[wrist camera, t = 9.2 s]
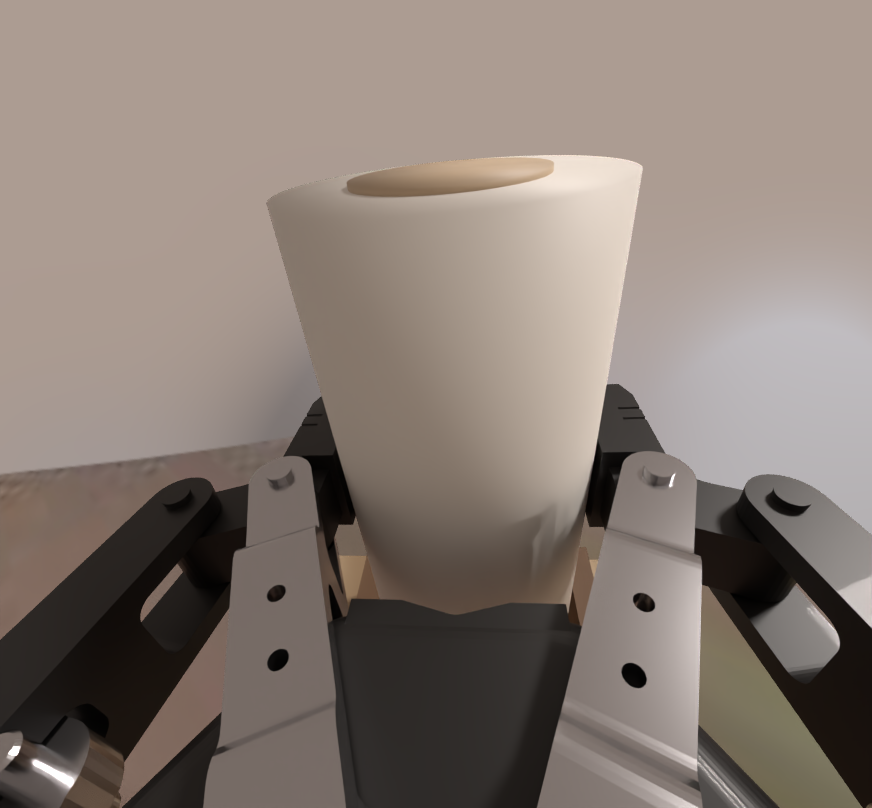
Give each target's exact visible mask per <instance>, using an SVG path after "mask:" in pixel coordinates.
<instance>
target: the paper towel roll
mask: <svg viewBox="0 0 872 808" xmlns="http://www.w3.org/2000/svg"><path fill="white" fill-rule="evenodd" d="M642 170H643V167H642V166H641V165H640V164H638V163H636V162H633V161H629V160H625V159H619V158H610V157H600V156H578V155H541V156H513V157H496V158H480V159H467V160H455V161H445V162H435V163H427V164H418V165H410V166H402V167H395V168H387V169H381V170H374V171H368V172H362V173H356V174H351V175H345V176H340V177H335V178H330V179H325V180H322V181H317V182H313V183H309V184H305V185H301V186H298V187H295V188H291V189H288V190H286V191H283V192H281V193H278V194H277V195H275V196H273V197H271V198H270V199H269V200H268V202H267V206H268V210H269V214H270V217H271V221H272V224H273V228H274V231H275V235H276V238H277V241H278V245H279V248H280V252H281V255H282V259H283V262H284V266H285V269H286V273H287V276H288V280H289V283H290V287H291V290H292V294H293V297H294V301H295V304H296V308H297V311H298V315H299V318H300V322H301V325H302V329H303V332H304V335H305V339H306V343H307V346H308V350H309V353H310V357H311V360H312V364H313V367H314V371H315V374H316V378H317V381H318V385H319V388H320V392H321V395H322V399H323V402H324V406H325V409H326V413H327V416H328V420H329V423H330V427H331V430H332V434H333V437H334V441H335V444H336V448H337V451H338V455H339V458H340V462H341V465H342V469H343V472H344V476H345V479H346V483H347V486H348V490H349V493H350V497H351V500H352V503H353V507H354V510H355V514H356V517H357V521H358V524H359V528H360V531H361V535H362V538H363V542H364V545H365V549H366V552H367V556H368V559H369V563H370V566H371V570H372V573H373V577H374V580H375V584H376V587H377V591H378V594H379V598H380V599H389V600H404V601H407V602H411V603H414V604H418V605H421V606H424V607H428V608H431V609H435V610H438V611H441V612H445V613H448V614H453V615H458V614H464V613H468V612H472V611H477V610H481V609H485V608H490V607H494V606H498V605H503V604H507V603H546V604H566V607H567V612H569V606H570V600H571V594H572V588H573V582H574V576H575V570H576V564H577V558H578V552H579V546H580V540H581V534H582V528H583V522H584V516H585V510H586V504H587V498H588V492H589V486H590V480H591V474H592V468H593V462H594V456H595V450H596V444H597V439H598V433H599V427H600V421H601V415H602V409H603V403H604V397H605V391H606V385H607V379H608V373H609V366H610V360H611V354H612V349H613V343H614V337H615V331H616V324H617V319H618V313H619V307H620V301H621V294H622V289H623V283H624V277H625V270H626V265H627V259H628V253H629V247H630V241H631V235H632V229H633V223H634V217H635V211H636V205H637V199H638V193H639V187H640V181H641V175H642Z"/></svg>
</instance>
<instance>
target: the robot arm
mask: <svg viewBox="0 0 872 808" xmlns="http://www.w3.org/2000/svg"><path fill="white" fill-rule="evenodd" d="M585 512H586V516H587V520H588V523H589V527H604V529H605V535H604V539H603V543H602V547H601V551H600V555H599V560H598V564H597V568H596V572H595V576H594V580H593V584H592V588H591V592H590V596H589V600H588V604H587V608H586V613H585V617H584V621H583V625H582V626H580V625H578V624H575V623H571V622H569V618H568V612H567V607H566V604H546V603H507V604H503V605H498V606H494V607H490V608H485V609H481V610H477V611H472V612H468V613H464V614H458V615H453V614H448V613H445V612H441V611H438V610H435V609H431V608H428V607H424V606H421V605H418V604H414V603H411V602H407V601H404V600H389V599H351V602H350V605H349V608H348V603H347V598H346V592H345V586H344V581H343V575H342V569H341V564H340V558H339V552H338V547H337V542H336V539H335V534H336V531H337V528H338V525H353V523H354V520H355V516H356V514H355V510H354V507H353V503H352V500H351V497H350V493H349V490H348V486H347V483H346V479H345V476H344V472H343V469H342V465H341V462H340V458H339V455H338V451H337V448H336V444H335V441H334V437H333V434H332V430H331V427H330V423H329V420H328V416H327V413H326V409H325V406H324V402H323V399H322V396H321V397H320V398H319V399H318V400H317V401H315V402H314V403H313V404H312V406H311V408H310V410H309V412H308V413H307V417H305V419H304V421H303V422H302V426H301V427H300V428H299V430H298V432H297V433H296V435H295V437H294V438H293V440H292V442H291V444H290V446H289V447H288V449H287V451H286V453H285V455H284V456H283V457H281V458H277V459H274V460H272V461H270V462H268V463H266V464H264V465H263V466H261V467H260V468H259V469H258V470H257V471H256V472H255V473H254V474H253V475H252V477H251V479H250V481H249V484H247V485H244V486H239V487H235V488H231V489H227V490H223V491H219V492H215V490H214V488H213V486H212V484H211V483H210V482H209V481H208V480H206V479H203V478H188V479H184V480H180V481H177V482H175V483H173V484H171V485H168V486H167V487H165V488H163V489H162V490H161V491H159V492H158V493H157V494H155V495H154V496H153V497H152V498H151V499H150V500H149V501H148V502H147V503H146V504H145V505H144V506H143V507H141V508H140V509H139V510H138V511H137V512H136V513H135V514H134V515H133V516H132V517H131V518H130V519H129V520H128V521H127V522H125V523H124V524H123V525H122V526H121V527H120V528H119V529H118V530H117V531H116V532H115V533H114V534H113V535H112V536H111V537H109V538H108V539H107V540H106V541H105V542H104V543H103V544H102V545H101V546H100V547H99V548H98V549H97V550H96V551H95V552H93V553H92V554H91V555H90V556H89V557H88V558H87V559H86V560H85V561H84V562H83V563H82V564H81V565H80V566H79V567H78V568H76V569H75V570H74V571H73V572H72V573H71V574H70V575H69V576H68V577H67V578H66V579H65V580H64V581H63V582H62V583H60V584H59V585H58V586H57V587H56V588H55V589H54V590H53V591H52V592H51V593H50V594H49V595H48V596H47V597H46V598H44V599H43V600H42V601H41V602H40V603H39V604H38V605H37V606H36V607H35V608H34V609H33V610H32V611H31V612H30V613H28V614H27V615H26V616H25V617H24V618H23V619H22V620H21V621H20V622H19V623H18V624H17V625H16V626H15V627H14V628H12V629H11V630H10V631H9V632H8V633H7V634H6V635H5V636H4V637H3V638H2V639H1V640H0V808H119V807H120V803H121V796H120V793H119V792H118V791H119V789H120V786H121V782H122V779H123V774H124V762H125V760H126V759H127V757H128V756H129V754H130V753H131V751H132V750H133V749H134V747H135V746H136V744H137V743H138V741H139V740H140V738H141V737H142V735H143V734H144V732H145V731H146V729H147V728H148V726H149V725H150V724H151V722H152V721H153V719H154V718H155V716H156V715H157V713H158V712H159V710H160V709H161V707H162V706H163V704H164V703H165V701H166V700H167V699H168V697H169V696H170V694H171V693H172V691H173V690H174V688H175V687H176V685H177V684H178V682H179V681H180V679H181V678H182V676H183V675H184V674H185V672H186V671H187V669H188V668H189V666H190V665H191V663H192V662H193V660H194V659H195V657H196V656H197V654H198V653H199V651H200V650H201V649H202V647H203V646H204V644H205V643H206V641H207V640H208V638H209V637H210V635H211V634H212V632H213V631H214V629H215V628H216V626H217V625H218V624H219V622H220V621H221V619H222V618H223V616H224V615H225V613H226V612H227V610H228V609H229V620H228V634H227V647H226V661H225V675H224V688H223V702H222V712H221V713H220V714H219V715H218V716H217V717H216V718H215V719H214V720H213V721H212V722H211V723H210V724H209V725H207V726H206V727H205V728H204V729H203V730H202V731H201V732H200V733H199V734H198V735H197V736H196V737H195V738H194V739H193V740H192V741H191V742H190V743H189V744H188V745H187V746H186V747H185V748H183V749H182V750H181V751H180V752H179V753H178V754H177V755H176V756H175V757H174V758H173V759H172V760H171V761H170V762H169V763H168V764H167V765H166V766H165V767H164V768H163V769H162V770H161V771H160V772H158V773H157V774H156V775H155V776H154V777H153V778H152V779H151V780H150V781H149V782H148V783H147V784H146V785H145V786H144V787H143V788H142V789H141V790H140V791H139V792H138V793H137V794H136V795H135V796H133V797H132V798H131V799H130V800H129V801H128V802H127V803H126V804H125V805H124V806H123V807H122V808H779V807H778V806H777V805H776V803H775V802H774V801H773V800H772V799H771V798H770V797H769V796H768V795H767V794H766V793H765V792H764V791H763V790H762V789H761V788H760V787H759V786H758V785H757V784H756V783H755V782H754V781H753V780H752V779H751V778H750V777H749V776H748V775H747V774H746V773H745V772H744V771H743V770H742V769H741V768H740V767H739V766H738V765H737V764H736V763H735V762H734V760H733V759H732V758H731V757H730V756H729V755H728V754H727V753H726V752H725V751H724V750H723V749H722V748H721V747H720V746H719V745H718V744H717V743H716V742H715V741H714V740H713V739H712V738H711V737H710V736H709V735H708V734H707V733H706V732H705V731H704V730H703V729H702V728H701V727H700V726H699V725H698V709H699V669H700V629H701V589H702V585H705V586H708V587H709V588H710V590H711V591H712V593H713V594H714V596H715V597H716V598H717V600H718V601H719V603H720V604H721V606H722V607H723V608H724V610H725V611H726V613H727V614H728V616H729V617H730V619H731V620H732V621H733V623H734V624H735V626H736V627H737V629H738V630H739V631H740V633H741V634H742V636H743V637H744V639H745V640H746V641H747V643H748V644H749V646H750V647H751V649H752V650H753V651H754V653H755V654H756V656H757V657H758V659H759V660H760V661H761V663H762V664H763V666H764V667H765V669H766V670H767V671H768V673H769V674H770V676H771V677H772V679H773V680H774V681H775V683H776V684H777V686H778V687H779V689H780V690H781V692H782V693H783V694H784V696H785V697H786V699H787V700H788V702H789V703H790V704H791V706H792V707H793V709H794V710H795V712H796V713H797V714H798V716H799V717H800V719H801V720H802V722H803V723H804V724H805V726H806V727H807V729H808V730H809V732H810V733H811V734H812V736H813V737H814V739H815V740H816V742H817V743H818V744H819V746H820V747H821V749H822V750H823V752H824V753H825V754H826V756H827V757H828V759H829V760H830V762H831V763H832V764H833V766H834V767H835V769H836V770H837V772H838V773H839V775H840V776H841V777H842V779H843V780H844V782H845V783H846V785H847V786H848V787H849V789H850V790H851V792H852V793H853V795H854V796H855V797H856V799H857V800H858V802H859V803H860V805H861V806H862V807H863V808H872V535H871V534H870V533H869V532H868V531H866V530H865V529H864V528H863V527H862V526H861V525H859V524H858V523H857V522H856V521H854V520H853V519H852V518H851V517H850V516H849V515H847V514H846V513H845V512H844V511H843V510H842V509H840V508H839V507H838V506H837V505H836V504H835V503H833V502H832V501H831V500H830V499H829V498H827V497H826V496H825V495H824V494H822V493H821V492H820V491H818V490H817V489H815V488H813V487H812V486H810V485H808V484H806V483H804V482H801V481H799V480H796V479H793V478H790V477H785V476H780V475H769V474H767V475H759V476H756V477H753V478H751V479H750V480H749V481H748V482H747V483H746V485H745V487H744V489H743V490H739V489H734V488H729V487H725V486H720V485H715V484H711V483H707V482H703V481H700V480H697V479H696V476H695V474H694V472H693V471H692V470H691V469H690V468H689V466H687V465H686V464H685V463H684V462H682V461H681V460H679V459H677V458H675V457H673V456H670V455H667V454H665V452H664V450H663V449H662V447H661V445H660V443H659V441H658V440H657V438H656V436H655V434H654V433H653V431H652V429H651V427H650V425H649V423H648V422H647V420H645V416H644V415H643V413H642V411H641V410H640V409H639V405H638V404H637V402H636V400H635V398H634V397H633V395H632V394H631V393H629V392H628V391H627V390H626V389H624V388H623V387H622V386H620V385H619V384H609V385H606V391H605V397H604V403H603V409H602V415H601V421H600V427H599V433H598V439H597V444H596V450H595V456H594V462H593V468H592V474H591V480H590V486H589V492H588V498H587V504H586V510H585ZM176 564H178V565H179V566H180V568H181V569H182V571H183V573H182V574H181V575H180V576H179V578H178V579H177V580H176V581H175V583H174V584H173V585H172V586H171V587H170V589H169V590H168V591H167V592H166V593H165V595H164V596H163V597H162V598H161V599H160V601H159V602H158V603H157V604H156V605H155V607H154V608H153V609H152V610H151V611H150V613H149V614H148V615H147V616H146V617H145V619H144V620H143V621H142V622H141V621H140V614H141V609H142V607H143V605H144V603H145V601H146V599H147V598H148V597H149V596H150V594H151V593H152V592H153V591H154V590H155V589H156V587H157V586H158V585H159V584H160V583H161V582H162V580H163V579H164V578H165V577H166V576H167V575H168V573H169V572H170V571H171V570H172V569H173V568H174V566H175V565H176ZM796 583H798V584H799V586H800V587H801V588H802V589H803V590H804V591H805V592H806V593H807V594H808V596H809V597H810V598H811V599H812V600H813V601H814V602H815V603H816V605H817V606H818V607H819V608H820V609H821V610H822V611H823V612H824V613H825V615H826V616H827V617H828V618H829V619H830V621H831V622H832V624H833V625H834V627H835V629H836V631H837V632H836V631H835V630H834V628H833V627H832V626H831V625H830V624H829V623H828V622H827V621H826V619H825V618H824V617H823V616H822V615H821V614H820V613H819V612H818V610H817V609H816V608H815V607H814V606H813V605H812V604H811V603H810V601H809V600H808V599H807V598H806V597H805V596H804V595H803V594H802V592H801V591H800V590H799V589H798V588H797V587H796V586H795V584H796Z"/></svg>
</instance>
